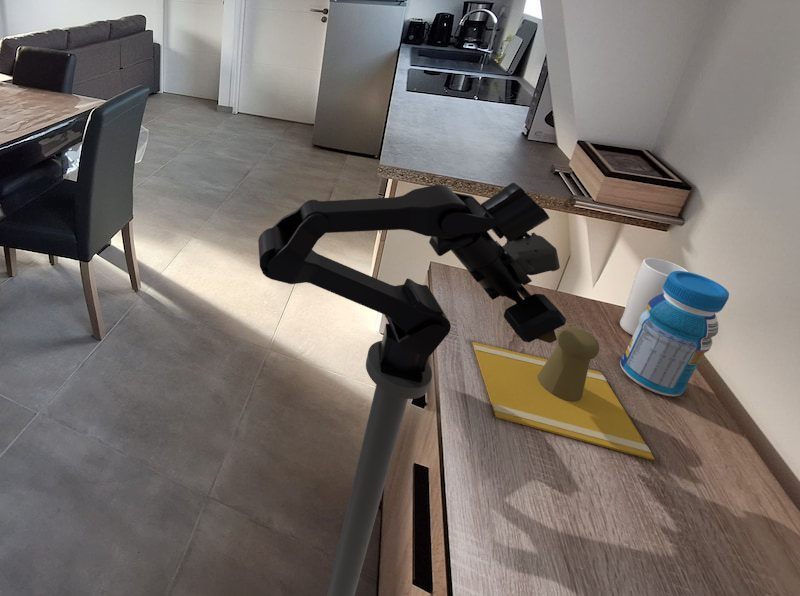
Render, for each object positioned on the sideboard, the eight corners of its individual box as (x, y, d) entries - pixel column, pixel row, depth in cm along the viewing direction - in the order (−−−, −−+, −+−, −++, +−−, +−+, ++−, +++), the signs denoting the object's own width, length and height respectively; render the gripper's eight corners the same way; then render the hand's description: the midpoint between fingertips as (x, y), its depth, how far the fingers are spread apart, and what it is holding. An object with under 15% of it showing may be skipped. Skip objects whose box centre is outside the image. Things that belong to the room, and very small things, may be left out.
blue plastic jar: (631, 389, 76) (680, 292, 69) (609, 352, 83) (651, 261, 76) (695, 406, 73) (754, 307, 66) (666, 367, 81) (716, 274, 74)
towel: (495, 417, 70) (496, 414, 70) (472, 343, 84) (472, 341, 84) (653, 460, 64) (655, 458, 64) (600, 373, 79) (601, 371, 79)
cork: (556, 368, 79) (577, 318, 75) (591, 397, 74) (616, 345, 70) (528, 374, 78) (548, 323, 74) (562, 405, 72) (586, 352, 68)
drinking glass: (649, 349, 85) (682, 283, 79) (606, 324, 90) (635, 261, 85) (667, 338, 87) (700, 274, 82) (624, 315, 93) (653, 254, 88)
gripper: (574, 261, 57) (633, 338, 60) (496, 195, 75) (546, 257, 78) (492, 306, 60) (553, 376, 64) (436, 232, 78) (486, 290, 81)
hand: (534, 318), depth 71 cm, fingers open, 9 cm apart
